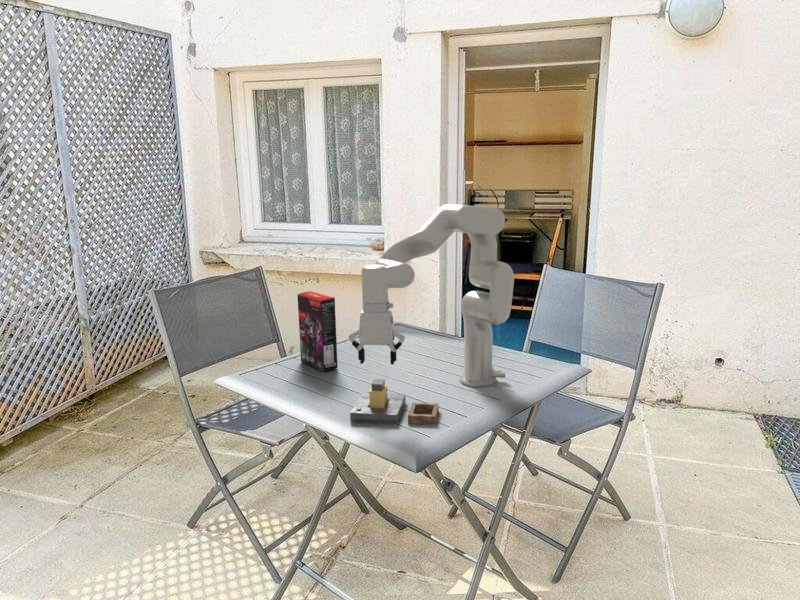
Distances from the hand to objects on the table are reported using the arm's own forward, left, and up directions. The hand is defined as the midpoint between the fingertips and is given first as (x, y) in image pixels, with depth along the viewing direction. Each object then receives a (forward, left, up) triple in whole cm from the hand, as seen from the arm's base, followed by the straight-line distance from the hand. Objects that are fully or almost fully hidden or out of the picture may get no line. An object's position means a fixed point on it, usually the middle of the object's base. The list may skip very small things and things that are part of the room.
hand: (377, 362), depth 180 cm
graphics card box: (+31, -40, -16) cm, 53 cm away
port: (0, 0, -16) cm, 16 cm away
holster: (-14, +2, -16) cm, 21 cm away
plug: (0, 0, -16) cm, 16 cm away
